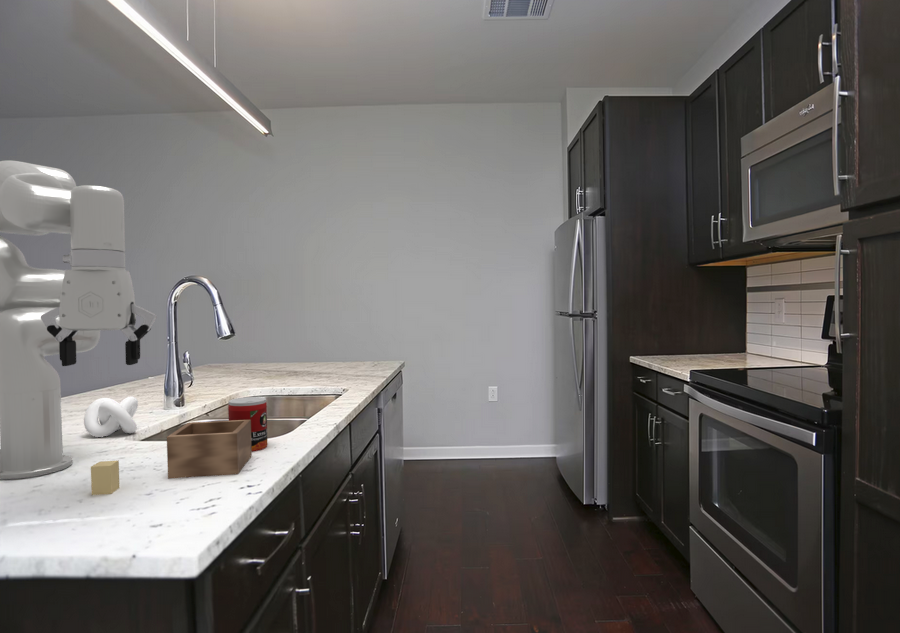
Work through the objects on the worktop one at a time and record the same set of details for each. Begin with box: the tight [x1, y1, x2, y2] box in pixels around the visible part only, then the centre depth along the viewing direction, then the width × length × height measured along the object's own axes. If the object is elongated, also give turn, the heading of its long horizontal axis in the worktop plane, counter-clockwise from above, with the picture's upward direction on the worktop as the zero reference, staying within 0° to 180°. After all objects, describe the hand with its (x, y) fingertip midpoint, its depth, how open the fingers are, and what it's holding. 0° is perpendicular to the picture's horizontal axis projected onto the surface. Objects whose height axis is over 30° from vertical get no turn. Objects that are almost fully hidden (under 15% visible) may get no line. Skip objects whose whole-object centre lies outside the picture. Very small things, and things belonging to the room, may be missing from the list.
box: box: [166, 420, 253, 480], centre depth 103 cm, size 12×12×8 cm
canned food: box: [227, 396, 268, 453], centre depth 116 cm, size 8×8×11 cm
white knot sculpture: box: [83, 396, 139, 438], centre depth 135 cm, size 11×12×9 cm
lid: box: [90, 460, 120, 496], centre depth 90 cm, size 12×12×6 cm
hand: (100, 364), depth 90 cm, fingers open, 9 cm apart
